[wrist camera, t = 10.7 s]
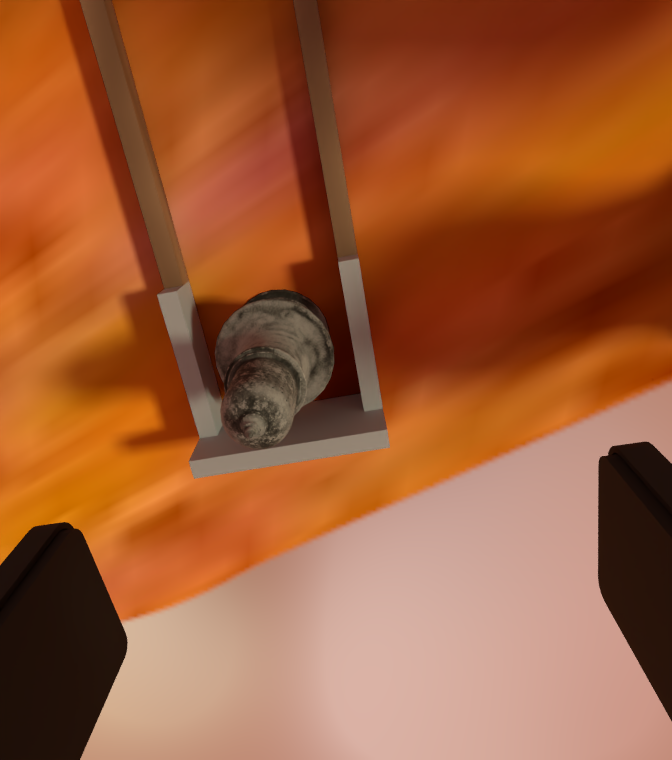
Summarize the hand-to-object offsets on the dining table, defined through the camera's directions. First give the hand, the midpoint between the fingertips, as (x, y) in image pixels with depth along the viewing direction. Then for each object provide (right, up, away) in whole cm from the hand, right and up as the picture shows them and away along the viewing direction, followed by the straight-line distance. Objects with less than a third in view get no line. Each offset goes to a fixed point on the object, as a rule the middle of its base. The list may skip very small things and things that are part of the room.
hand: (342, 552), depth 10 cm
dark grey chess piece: (-3, +6, +21) cm, 22 cm away
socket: (-3, +5, +21) cm, 22 cm away
